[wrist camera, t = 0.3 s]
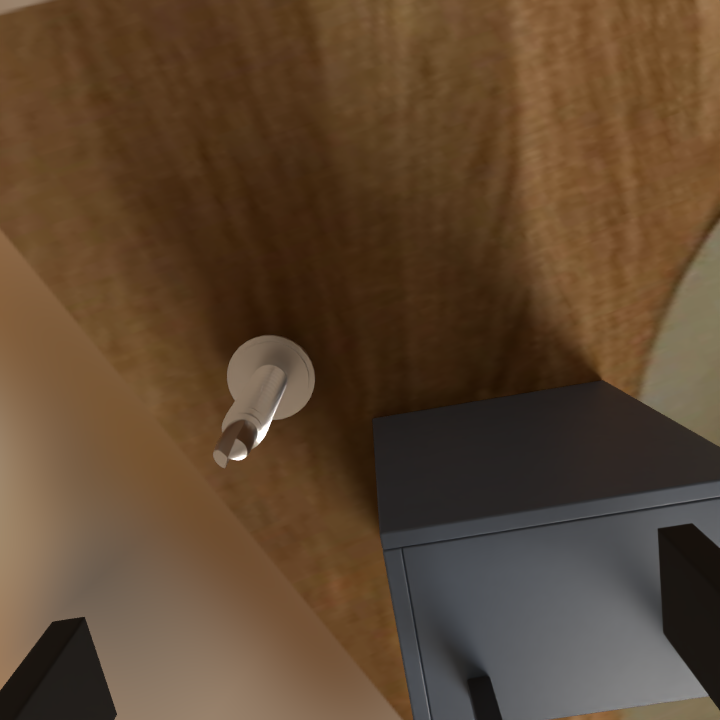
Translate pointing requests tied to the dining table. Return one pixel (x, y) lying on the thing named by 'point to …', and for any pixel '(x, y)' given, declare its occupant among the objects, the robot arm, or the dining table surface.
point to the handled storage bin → (538, 550)
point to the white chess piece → (262, 392)
